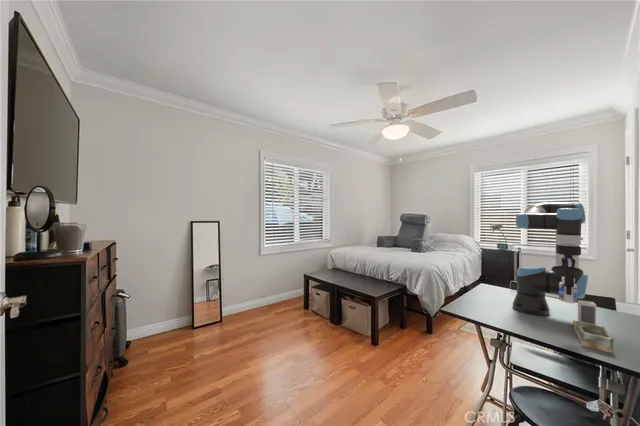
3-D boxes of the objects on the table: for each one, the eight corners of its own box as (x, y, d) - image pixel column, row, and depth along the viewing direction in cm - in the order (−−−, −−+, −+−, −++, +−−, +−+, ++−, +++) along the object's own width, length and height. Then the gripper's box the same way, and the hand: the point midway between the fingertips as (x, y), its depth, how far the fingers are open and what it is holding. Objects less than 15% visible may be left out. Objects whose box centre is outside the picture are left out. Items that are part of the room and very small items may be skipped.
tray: (581, 345, 98) (582, 332, 98) (572, 324, 117) (572, 313, 117) (613, 353, 93) (613, 339, 93) (598, 329, 112) (598, 318, 112)
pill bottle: (555, 298, 109) (555, 276, 109) (566, 298, 109) (567, 276, 109) (568, 303, 103) (568, 279, 103) (580, 303, 104) (580, 279, 104)
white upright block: (579, 325, 112) (579, 302, 112) (577, 321, 116) (577, 299, 116) (596, 328, 108) (596, 305, 109) (593, 324, 113) (593, 302, 113)
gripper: (584, 247, 97) (583, 308, 97) (578, 244, 111) (577, 297, 111) (557, 246, 102) (556, 303, 102) (554, 242, 116) (554, 293, 116)
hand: (567, 300), depth 106 cm, fingers closed on pill bottle, 5 cm apart
